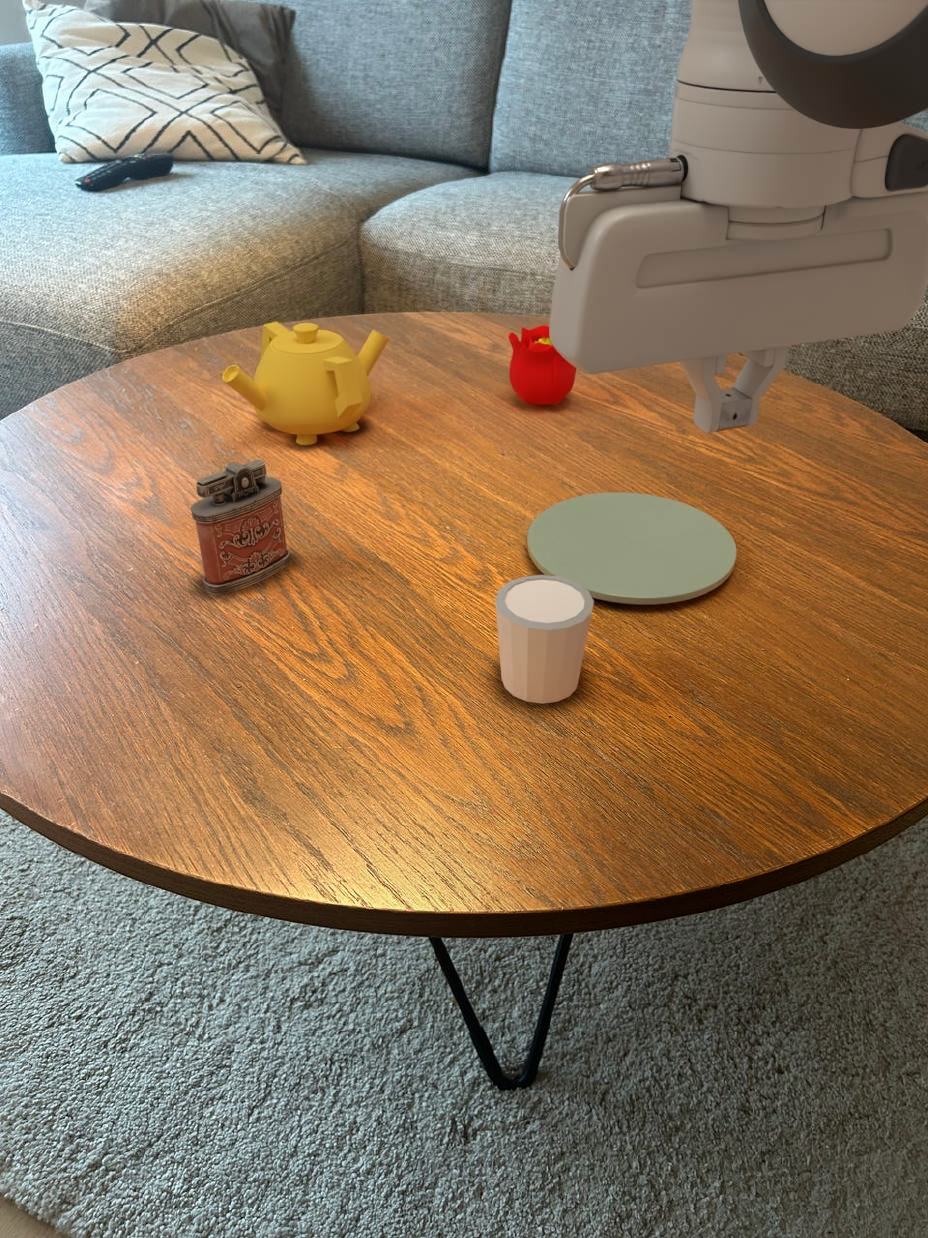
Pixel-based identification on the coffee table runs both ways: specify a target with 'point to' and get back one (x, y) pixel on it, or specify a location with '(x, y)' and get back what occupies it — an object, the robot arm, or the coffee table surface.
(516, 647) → the shot glass
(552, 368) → the flower
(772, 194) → the robot arm
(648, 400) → the coffee table surface
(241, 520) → the lighter
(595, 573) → the plate
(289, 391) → the teapot
